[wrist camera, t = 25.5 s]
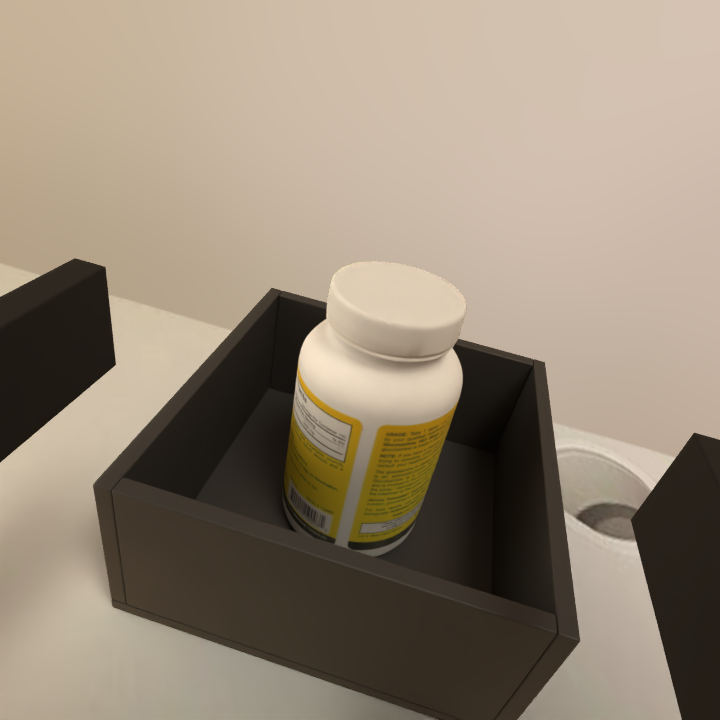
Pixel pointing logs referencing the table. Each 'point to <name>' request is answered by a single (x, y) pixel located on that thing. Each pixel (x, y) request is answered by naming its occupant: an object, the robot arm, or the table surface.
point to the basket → (342, 565)
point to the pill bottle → (372, 405)
